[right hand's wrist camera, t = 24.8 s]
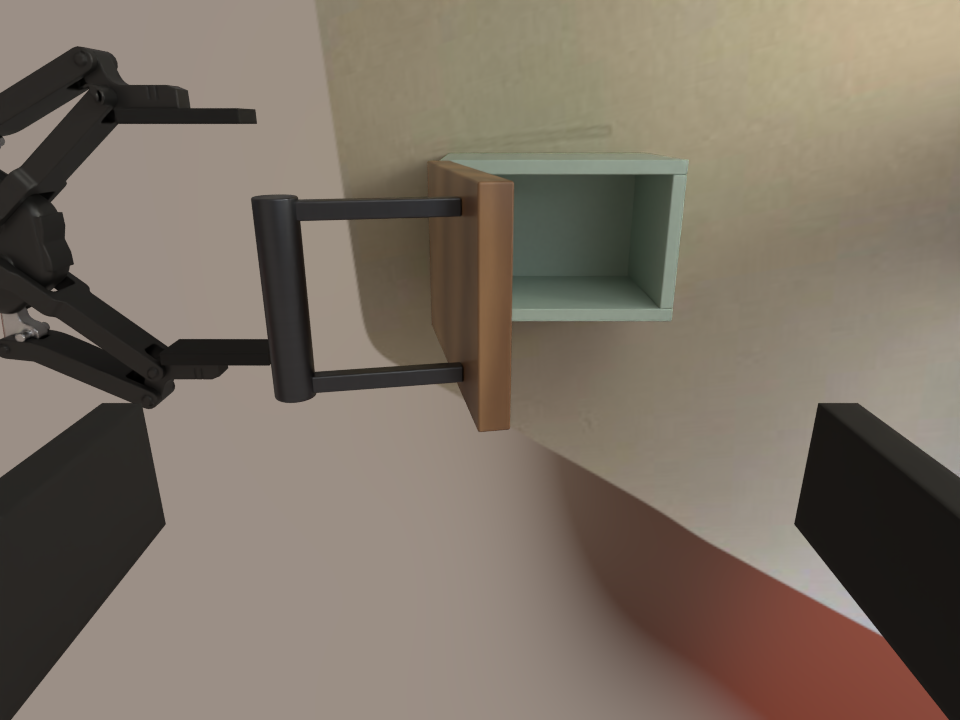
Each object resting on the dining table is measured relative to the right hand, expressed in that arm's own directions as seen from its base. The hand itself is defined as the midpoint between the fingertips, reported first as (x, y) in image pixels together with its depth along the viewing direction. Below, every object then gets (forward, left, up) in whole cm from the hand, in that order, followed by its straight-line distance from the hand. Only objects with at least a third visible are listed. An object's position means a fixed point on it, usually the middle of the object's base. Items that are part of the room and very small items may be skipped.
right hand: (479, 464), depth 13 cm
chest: (-2, +4, -35) cm, 35 cm away
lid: (0, 0, -18) cm, 18 cm away
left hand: (+6, -11, -26) cm, 29 cm away
